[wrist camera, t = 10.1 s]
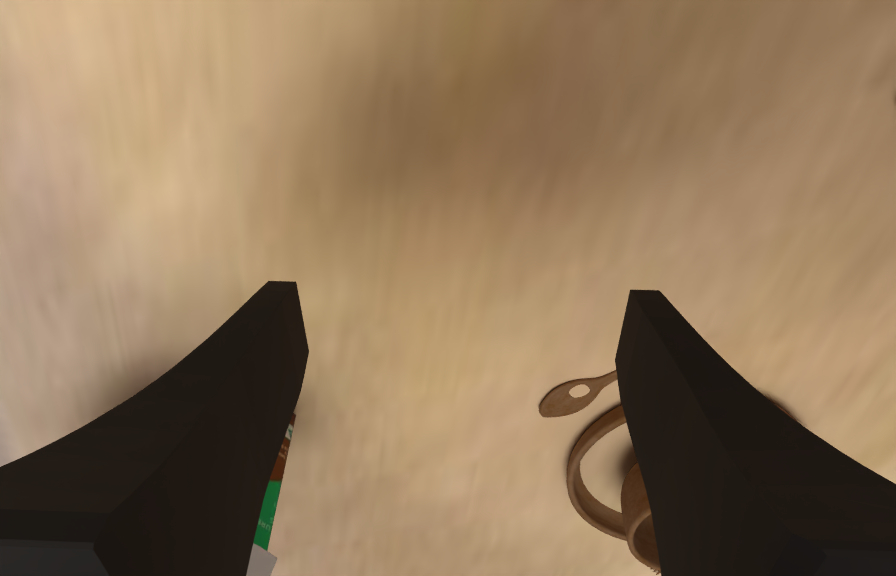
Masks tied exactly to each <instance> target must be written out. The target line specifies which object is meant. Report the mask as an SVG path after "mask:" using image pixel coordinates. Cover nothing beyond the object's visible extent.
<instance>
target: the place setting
mask: <svg viewBox="0 0 896 576" xmlns="http://www.w3.org/2000/svg"><path fill="white" fill-rule="evenodd" d="M615 380H617V371H616V370H615V371H613V372H611V373H609V374H606V375H604V376H601V377H597V378H586V379H577V380H573V381H570V382H567V383H564V384H562V385H560V386H559V387H557V388H555V389H554V390H553V391H552V392H550V393H549V394H548V395H547V396H546V397H545V399H544V400H543V401H542V403H541V405H540V407H539V413H540V414H541V415H542V416H543V417H560V416H565V415H569V414H573V413H575V412H578V411H580V410H582V409H583V408H585V407H586V406H588V405H589V404H590V403H591V402H592V401H593V400H594V399H595V398H596V396H597V395H598V394H599V392H600V391H601V390H602V389H603V388H604V387H606V386H607V385H608V384H610V383H612V382H613V381H615ZM580 384H585V385H587V386H588V387H589V388H590V392H589V393H588V394H586V395H585V396H582V397H578V398H574V397H572V396H571V395H570V394H569V391H570V389H571V388H573V387H575V386H577V385H580ZM773 404H774V403H773ZM776 406H777V405H776ZM777 407H779V406H777ZM779 408H780V407H779ZM780 409H781V410H782V411H784V410H783V409H782V408H780ZM784 412H785V413H786V414H787V415H789V414H788V413H787V412H786V411H784ZM789 416H790V415H789ZM790 417H791V418H793V417H792V416H790ZM793 419H794V418H793ZM794 420H795V419H794ZM795 421H796V420H795ZM624 423H626V418H625V415H624V411H623V407H622V405H620V406H618V407H616V408H615V409H613V410H611V411H610V412H608V413H607V414H605V415H604V416H602V417H601V418H600V419H599V420H597V421H596V422H595V423H594V424H592V425H591V427H590V428H589V429H588V430H587V431H586V432H585V433H584V434H583V435H582V437H581V438H580V440H579V441H578V442H577V444H576V446H575V448H574V450H573V452H572V454H571V457H570V460H569V464H568V468H567V488H568V494H569V497H570V500H571V503H572V505H573V506H574V508H575V509H576V511H577V512H578V513H579V515H580V516H581V517H582V518H583V519H584V520H585V521H587V522H588V523H589V524H590V525H592V526H593V527H595V528H597V529H598V530H600V531H602V532H604V533H606V534H608V535H611V536H613V537H616V538H619V539H622V540H625V541H627V543H628V546H629V549H630V551H631V553H632V554H633V555H634V557H635V558H636V559H638V560H639V561H640V562H641V563H643V564H645V565H646V566H647V567H650V568H651V569H655V570H654V571H653V572H655V571H659V572H658V573H657V574H659V573H661V569H660V563H659V556H658V550H657V544H656V538H655V532H654V527H653V521H652V515H651V510H650V505H649V501H648V497H647V493H646V489H645V485H644V482H643V478H642V475H641V471H640V468H639V464H638V462H637V463H636V464H635V465H634V466H633V467H632V469H631V470H630V471H629V473H628V474H627V476H626V478H625V480H624V483H623V486H622V491H621V508H622V513H620V512H617V511H615V510H613V509H610V508H608V507H607V506H605V505H603V504H602V503H600V502H599V501H598V500H597V499H595V498H594V497H593V496H592V495H591V494H590V493H589V491H588V490H587V489H586V487H585V485H584V484H583V481H582V478H581V474H580V461H581V459H582V457H583V456H584V455H585V453H586V452H587V451H588V450H589V449H590V448H591V447H592V446H593V445H594V444H595V443H596V442H597V441H598V440H599V439H600V438H602V437H603V436H604V435H605V434H607V433H608V432H610V431H612V430H613V429H615V428H616V427H618V426H620V425H622V424H624ZM657 574H656V575H657Z"/></svg>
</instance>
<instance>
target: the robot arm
mask: <svg viewBox="0 0 896 576" xmlns="http://www.w3.org/2000/svg"><path fill="white" fill-rule="evenodd" d="M308 353H309V349H308V344H307V338H306V333H305V328H304V322H303V317H302V311H301V306H300V300H299V295H298V290H297V284H296V282H286V281H268V282H267V283H266V284H265V285H264V286H263V287H262V288H261V289H259V290H258V291H257V292H256V293H255V294H254V295H253V296H252V297H251V298H250V299H249V300H248V301H247V302H246V303H245V304H244V305H243V306H242V307H241V308H240V309H239V310H238V311H237V312H235V313H234V314H233V315H232V316H231V317H230V318H229V319H228V320H227V321H226V322H225V323H224V324H223V325H222V326H221V327H220V328H218V329H217V330H216V331H215V332H214V333H213V334H212V335H211V336H210V337H209V338H208V339H206V340H205V341H204V342H203V343H202V344H201V345H199V346H198V347H197V348H196V349H195V350H193V351H192V352H191V353H190V354H189V355H187V356H186V357H185V358H184V359H183V360H181V361H180V362H179V363H178V364H177V365H176V366H174V367H173V368H172V369H170V370H169V371H168V372H166V373H165V374H164V375H162V376H161V377H160V378H158V379H157V380H156V381H154V382H153V383H151V384H150V385H148V386H147V387H146V388H144V389H143V390H141V391H140V392H138V393H137V394H136V395H134V396H133V397H131V398H129V399H128V400H126V401H125V402H123V403H121V404H120V405H118V406H117V407H115V408H113V409H112V410H110V411H108V412H107V413H105V414H103V415H102V416H100V417H98V418H97V419H95V420H93V421H92V422H90V423H88V424H87V425H85V426H83V427H81V428H79V429H78V430H76V431H74V432H72V433H70V434H68V435H66V436H64V437H63V438H61V439H59V440H57V441H55V442H53V443H51V444H49V445H47V446H45V447H43V448H41V449H39V450H37V451H35V452H33V453H30V454H28V455H26V456H24V457H22V458H20V459H17V460H15V461H13V462H11V463H8V464H6V465H4V466H1V467H0V576H246V575H247V570H248V565H249V561H250V556H251V552H252V547H253V543H254V538H255V534H256V530H257V525H258V521H259V517H260V513H261V509H262V504H263V500H264V496H265V493H266V490H267V487H268V483H269V480H270V477H271V474H272V471H273V468H274V466H275V463H276V460H277V457H278V454H279V452H280V449H281V446H282V443H283V440H284V438H285V435H286V432H287V429H288V426H289V424H290V421H291V418H292V415H293V412H294V409H295V407H296V404H297V401H298V398H299V395H300V392H301V387H302V383H303V378H304V374H305V369H306V364H307V359H308ZM615 363H616V371H617V379H618V386H619V392H620V399H621V404H622V407H623V411H624V415H625V418H626V422H627V426H628V429H629V433H630V436H631V440H632V443H633V447H634V450H635V454H636V457H637V461H638V464H639V468H640V471H641V475H642V478H643V482H644V485H645V489H646V493H647V497H648V501H649V505H650V510H651V515H652V521H653V527H654V532H655V538H656V544H657V550H658V556H659V563H660V569H661V576H896V484H894V483H893V482H891V481H889V480H888V479H886V478H884V477H882V476H881V475H879V474H877V473H875V472H874V471H872V470H870V469H868V468H867V467H865V466H863V465H862V464H860V463H858V462H857V461H855V460H853V459H852V458H850V457H849V456H847V455H845V454H844V453H842V452H840V451H839V450H837V449H836V448H834V447H833V446H831V445H830V444H828V443H827V442H826V441H824V440H823V439H821V438H820V437H818V436H817V435H815V434H814V433H812V432H811V431H809V430H808V429H806V428H805V427H804V426H802V425H801V424H799V423H798V422H797V421H795V420H794V419H793V418H791V417H790V416H789V415H787V414H786V413H785V412H784V411H782V410H781V409H780V408H779V407H777V406H776V405H775V404H773V403H772V402H771V401H770V400H768V399H767V398H766V397H765V396H763V395H762V394H761V393H760V392H759V391H758V390H756V389H755V388H754V387H753V386H752V385H751V384H750V383H748V382H747V381H746V380H745V379H744V378H743V377H742V376H741V375H740V374H739V373H737V372H736V371H735V370H734V369H733V368H732V367H731V366H730V365H729V364H728V363H727V362H726V361H725V360H724V359H723V358H722V357H721V356H720V355H719V354H718V353H717V352H716V351H715V350H714V349H713V348H712V347H711V346H710V345H709V344H708V343H707V342H706V341H705V340H704V339H703V338H702V337H701V336H700V335H699V334H698V333H697V332H696V330H695V329H694V328H693V327H692V326H691V325H690V324H689V323H688V322H687V321H686V319H685V318H684V317H683V316H682V315H681V314H680V313H679V312H678V311H677V310H676V308H675V307H674V306H673V305H672V304H671V303H670V302H669V301H668V299H667V298H666V297H665V296H664V295H663V294H662V293H661V292H660V291H659V290H630V293H629V298H628V303H627V307H626V312H625V316H624V321H623V326H622V330H621V335H620V340H619V344H618V349H617V353H616V358H615Z"/></svg>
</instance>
